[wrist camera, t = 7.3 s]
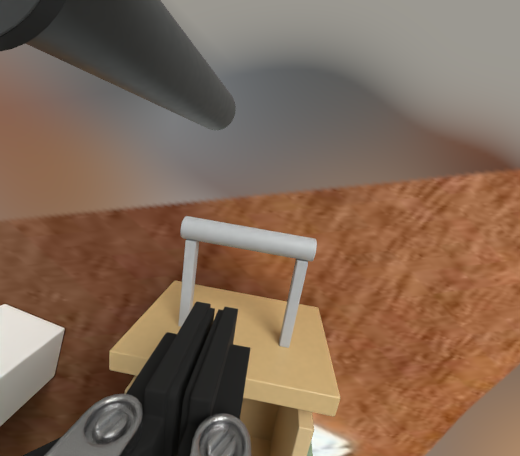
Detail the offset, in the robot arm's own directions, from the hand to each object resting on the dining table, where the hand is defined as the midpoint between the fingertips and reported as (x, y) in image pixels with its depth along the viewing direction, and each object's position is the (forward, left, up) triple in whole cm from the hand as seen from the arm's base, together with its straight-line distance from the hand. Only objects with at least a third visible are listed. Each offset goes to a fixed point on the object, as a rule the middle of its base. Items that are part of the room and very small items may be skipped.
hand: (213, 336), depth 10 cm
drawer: (+6, +1, -9) cm, 11 cm away
